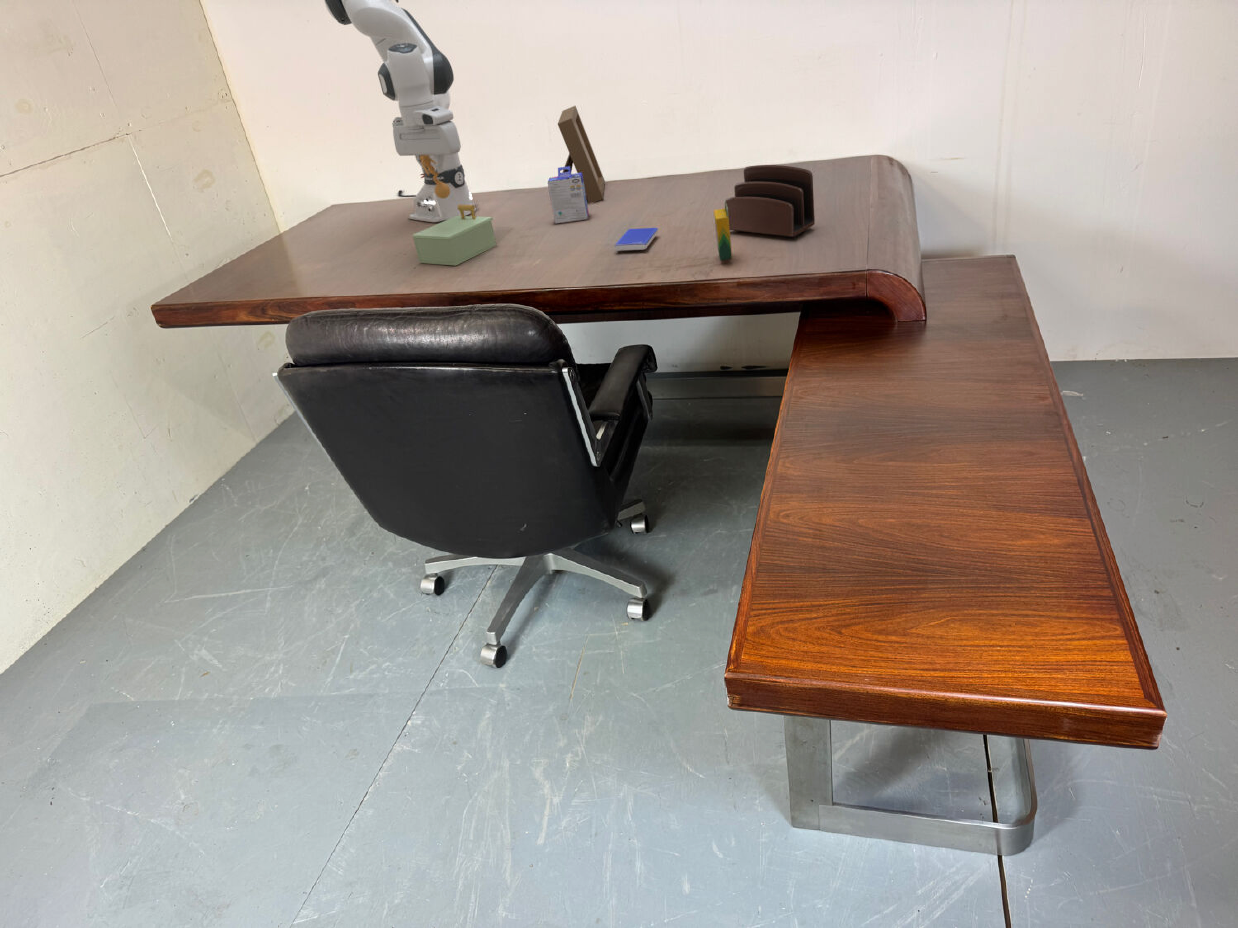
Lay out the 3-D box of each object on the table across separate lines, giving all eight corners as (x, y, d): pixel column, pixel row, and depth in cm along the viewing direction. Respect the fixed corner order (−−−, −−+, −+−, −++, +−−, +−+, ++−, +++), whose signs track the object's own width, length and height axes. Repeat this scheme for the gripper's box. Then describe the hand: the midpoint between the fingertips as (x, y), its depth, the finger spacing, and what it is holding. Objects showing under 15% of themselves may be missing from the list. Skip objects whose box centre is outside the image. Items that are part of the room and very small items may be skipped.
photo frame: (605, 184, 275) (593, 102, 262) (603, 202, 257) (590, 115, 243) (560, 190, 276) (546, 110, 263) (555, 208, 258) (540, 123, 245)
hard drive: (645, 243, 208) (657, 227, 218) (614, 244, 210) (627, 228, 220) (646, 249, 209) (658, 233, 219) (615, 250, 211) (628, 234, 221)
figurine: (446, 202, 217) (436, 154, 210) (424, 204, 217) (413, 156, 211) (455, 193, 223) (445, 146, 217) (433, 194, 224) (423, 148, 218)
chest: (460, 243, 239) (454, 219, 235) (496, 245, 232) (491, 220, 228) (419, 263, 227) (412, 238, 224) (456, 265, 220) (449, 240, 217)
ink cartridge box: (589, 214, 246) (581, 163, 238) (588, 219, 241) (580, 168, 234) (556, 219, 247) (547, 168, 239) (554, 224, 242) (545, 173, 234)
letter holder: (748, 218, 218) (744, 162, 211) (815, 225, 206) (814, 166, 198) (725, 230, 212) (721, 173, 205) (793, 238, 200) (791, 178, 193)
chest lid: (456, 218, 236) (452, 202, 233) (493, 220, 229) (489, 203, 226) (412, 238, 224) (408, 220, 222) (449, 240, 217) (445, 222, 214)
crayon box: (717, 250, 199) (713, 201, 193) (729, 249, 199) (726, 200, 193) (719, 261, 193) (715, 210, 187) (732, 259, 193) (728, 208, 187)
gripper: (382, 120, 213) (397, 176, 220) (439, 117, 202) (453, 175, 209) (399, 114, 218) (414, 169, 225) (457, 111, 207) (470, 169, 214)
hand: (433, 172), depth 217 cm, fingers closed on figurine, 3 cm apart
